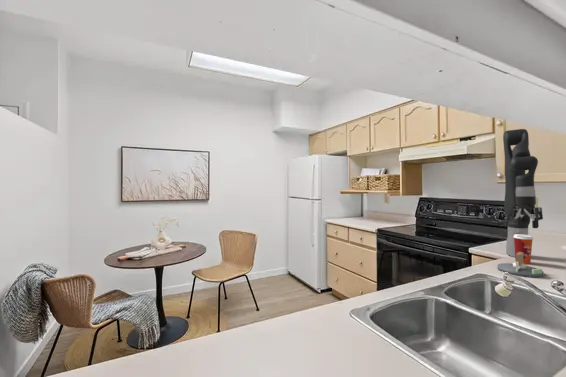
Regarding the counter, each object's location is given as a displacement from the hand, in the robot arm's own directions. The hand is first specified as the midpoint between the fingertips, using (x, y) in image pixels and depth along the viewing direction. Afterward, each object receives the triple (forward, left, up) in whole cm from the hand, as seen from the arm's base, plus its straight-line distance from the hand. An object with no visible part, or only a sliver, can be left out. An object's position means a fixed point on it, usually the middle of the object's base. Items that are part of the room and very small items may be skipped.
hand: (527, 227), depth 136 cm
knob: (+7, -9, -19) cm, 22 cm away
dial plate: (+6, -8, -21) cm, 23 cm away
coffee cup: (-10, +6, -21) cm, 24 cm away
